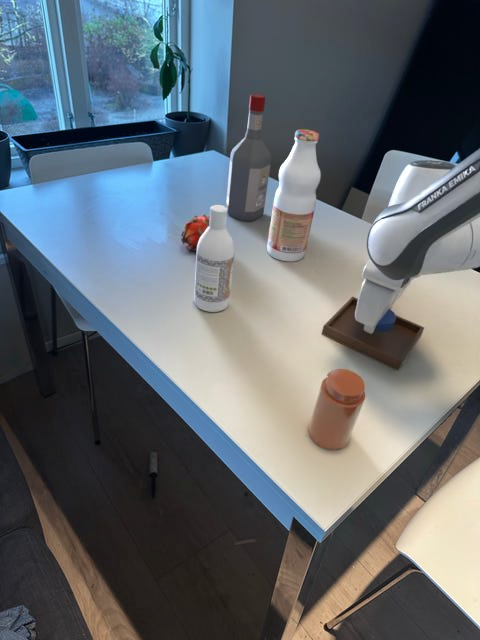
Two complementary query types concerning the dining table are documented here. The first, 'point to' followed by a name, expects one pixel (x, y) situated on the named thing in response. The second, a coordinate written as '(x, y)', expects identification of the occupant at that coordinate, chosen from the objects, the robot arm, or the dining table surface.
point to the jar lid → (386, 322)
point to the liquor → (249, 168)
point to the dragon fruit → (194, 231)
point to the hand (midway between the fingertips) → (376, 321)
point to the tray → (373, 336)
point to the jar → (337, 409)
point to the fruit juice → (295, 199)
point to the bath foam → (214, 263)
